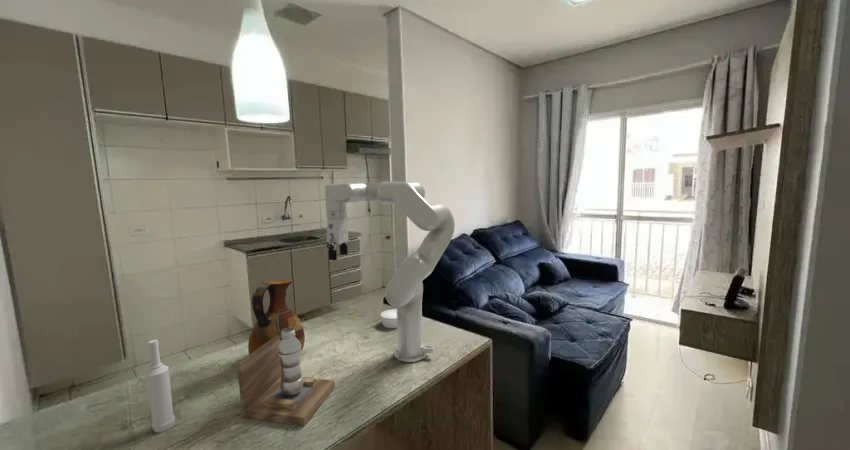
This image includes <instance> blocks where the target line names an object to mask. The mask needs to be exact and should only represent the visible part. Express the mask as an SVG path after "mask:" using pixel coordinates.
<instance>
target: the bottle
mask: <svg viewBox="0 0 850 450" xmlns="http://www.w3.org/2000/svg"><path fill="white" fill-rule="evenodd" d="M147 345H148V349H149V356H150V364H151V365H150V366H149V368H148V369H147V371H146V372H145V373H144V378H145V385H146V388H147V389H146V390H147V395H148V396H147V397H148V401H149V407H150V413H151V419H152V423H151V428H152V430H153V431H154V432H155V433H163V432H166V431H168V430H170V429H172V427H174V426H175V423H176V416H175V415H174V408H173V407H174V405H173V398H172V389H171V378H170V370H169V368H170V367H169V366H168V365H165V364H163V363H162V362H161V355H160V349H159V340H158V339H151V340H149V341H148V342H147Z"/></svg>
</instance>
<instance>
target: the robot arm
mask: <svg viewBox="0 0 850 450" xmlns="http://www.w3.org/2000/svg"><path fill="white" fill-rule="evenodd" d="M324 195H325V196H324V198H325V213H326V216H325V217H326V220H327V221H326V222H327V223H326V240H325V244H326V248H327V251H328V261H337V260H338V255H337V254H338V252H337V249H336V248H337V246H338V245H339V255H341V256H347V255H348V253H349V252H348V244H349V242H348V241H349V240H350V239H349V238H350V237H349V228H348V222H347V210H346V203H347V204H350V203H357V202H376V203H377V202H378V203H380V204H382V205H385V206H386V205H391V206H392V205H394V206H397V207H398V208H399V210H400V211H401V212H402V213H403V214H404V215H405V216H406V217H407V218H408V219H409V221H411V222H412V223H413V224H414V225H415V226H416V227H417V228H418V229H419V230H422V231H425V232H428V233H427V234H426V236H424V238H423V240H422V241H421V243H420V245H419V247H418V248H417V249H416V251H415V252H414V253H412V254H411V255H409V256H407V257H405V258H404V259H403V260H402V261H401V263H400V264H399V265H398V266H397V268H396V270H395V272H394V273H393V275H392V277H391V278H390V279H389V281H388V284H387V285H386V287H385V292H384V294H385V295H384V296H385V300H386V301H387V303H388V304H389V305H390V306H391V307H393V308H396V309H397V328H396V329H397V331H396V332H397V333H396V335H397V347H396V349H394V351H393V356H394V358H395V359H396V360H397V361H399V362H404V363H414V362H419V361H421V360H423V359H425V357H426V356H427V354H434V353H435V351H434V350H435V349H434V347H433V346H432V344H426V343H425V340H423V311H422V309H423V304H422V303H423V295H424V294H423V293H424V283H423V281H424V280H425V279H427V277H429V276H430V275H431V274H432V272H433V271H434V269H435V267H436V266H437V264H438V263H439V261H440V260H441V257H442V256H443V254H444V252H445V251H446V250H447V248H448V246H449V244H450V242H451V241H452V238H453V236H454V232H455V225H456V224H455V218H454V215H453V214H452V212H451V210H450V209H449V208H448V207H447V206H446V205H444V204H441V203H433V204H429V203H428V201H426V200H425V196H426V191H425V188H424V186H423V185H422V184H421V183H419V182H416V181H381V182H344V183H327V184H326V185H325V186H324Z"/></svg>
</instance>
